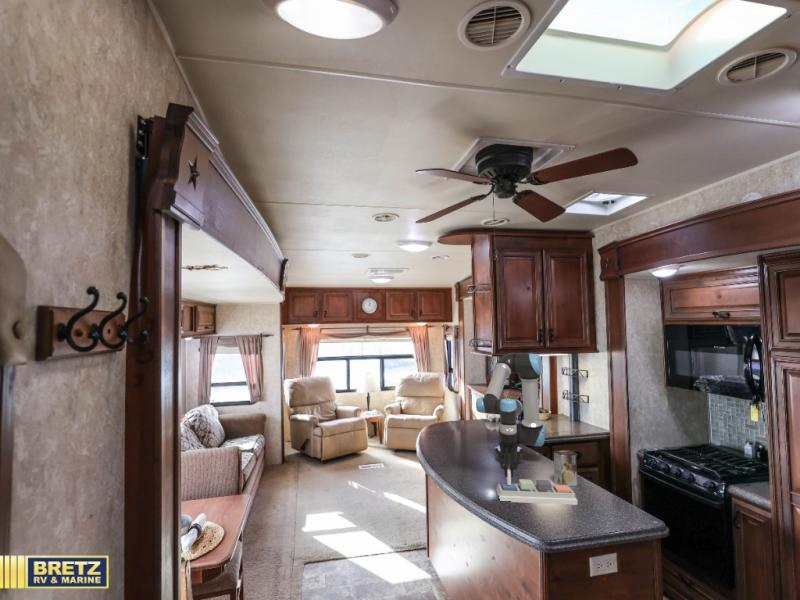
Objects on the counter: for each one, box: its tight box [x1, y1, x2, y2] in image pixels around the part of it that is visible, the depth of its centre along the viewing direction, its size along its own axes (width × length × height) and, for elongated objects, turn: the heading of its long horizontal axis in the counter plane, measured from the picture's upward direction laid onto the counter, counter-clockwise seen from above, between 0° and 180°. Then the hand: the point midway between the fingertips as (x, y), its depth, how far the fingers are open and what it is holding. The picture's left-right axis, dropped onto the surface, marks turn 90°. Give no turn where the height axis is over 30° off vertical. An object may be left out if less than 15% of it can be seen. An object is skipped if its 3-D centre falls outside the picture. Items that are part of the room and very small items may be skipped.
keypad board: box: [495, 482, 579, 506], centre depth 198 cm, size 13×34×4 cm, turn 85°
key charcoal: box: [535, 479, 553, 490], centre depth 198 cm, size 6×6×2 cm
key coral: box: [553, 484, 570, 493], centre depth 198 cm, size 6×6×2 cm
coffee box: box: [553, 449, 578, 487], centre depth 215 cm, size 9×6×16 cm
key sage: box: [518, 478, 535, 490], centre depth 199 cm, size 6×6×2 cm
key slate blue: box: [501, 482, 516, 491], centre depth 200 cm, size 6×6×2 cm
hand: (508, 484), depth 200 cm, fingers closed
